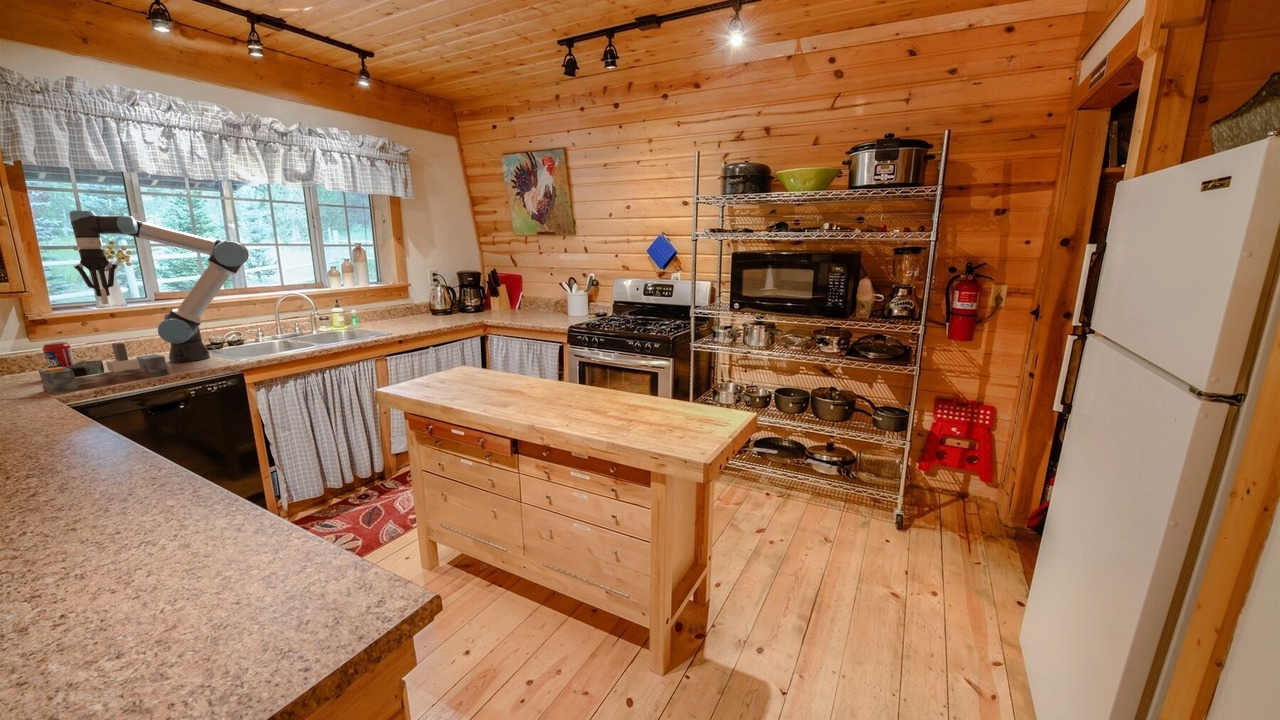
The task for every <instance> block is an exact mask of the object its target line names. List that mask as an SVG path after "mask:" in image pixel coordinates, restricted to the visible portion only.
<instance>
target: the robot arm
mask: <svg viewBox="0 0 1280 720" xmlns="http://www.w3.org/2000/svg"><path fill="white" fill-rule="evenodd" d="M68 214H69V219H70V224H71V227H72V230H73V233H74V237H75V243H76V246H77V248H79V249H78V253H79V256H80V261H79V263H78V264H77V265H73V268H74V269H75V270H76V271H77V272H78V273H79V274H80V276H81V278H82V279H83V282H85V284H86V286H87V287H88V288H89V289H90V288H91V289H93V290H94V291H95V294H96V296H97V297H100V301H101V304H102V305H109V304H110V303H109V298H108V297H109V296H110V295H111V293H110V291H109V288H112V287H114V285H115V284H114V283H115V272H116V271H115V269H117V266H118V265H117V264H115V263H114V264H113V263H111V262H110V261H109V260H108V259H107V257H106V256H107V255H106V251H105V249H104V245H103V241H102V237H101V235H107V234H108V235H112V234H113V235H125V236H129V237H133V238H139V239H143V240H147V241H151V242H155V243H158V244H159V243H160V244H164V245H167V246H171V247H175V248H179V249H183V250H187V251H192V252H196V253H200V254H203V255H208V256H209V257H208V259H207V262H208V266H207V268H206V269H204V271H203V273H202V274H201V275H200V277H199V278H198V279H197V281H196V282H195V284H194V286H193V287H192V288H191V289H190V291H189V292H188V294H186V297H185V298H184V300H183V301H181V303H180V305H179V306H178V307H177V308H173V309H171V310H170V312H169V313H166V314H164V319H163V320H162V321H161V322H160V323H159V324H158V326H157V332H158V336H159V338H161V339H162V340H163V341H165V342H167V343H170V350H169V355H168V360H169V362H170V363H187V362H195V361H196V362H197V361H201V360H205V359H209V358H210V357H211V354H210V352H209V350H208V349H207V347H206V345H205V344H204V342H203V339H202V334H201V330H200V326H201V324H202V320H201V317H202V315H203V314H204V312H206V309H207V308H208V307H209V305H210V304H211V302H212V301H213V300H214V299H215V297H216V296H217V294H218V293H219V292H220V290H221V288H222V287H223V286H224V284H225V283H226V281H228V279H229V277H230V276H231V275H236V274H237V273H238V272H239V270H240V269H241V267H242V265H243V264H245V263H246V262H247V261H248V260H249V255H250V254H249V253H250V252H249V250H248V248H247V247H246V245H243V244H242V243H240V242H237V241H235V240H223V239H219V238H215V239H210V238H208V237H203V236H199V235H196V234H192V233H187V232H184V231H179V230H176V229H173V228H167V227H163V226H159V225H156V224H154V223H153V224H152V223H148V222H144V221H140V220H137V219H135V218H134V217H133V216H131V215H96V214H95V212H94V211H92V210H70V211H69V213H68ZM107 267H108V276H107V277H108V278H107V277H106V273H105V272H106V271H105V269H106V268H107ZM84 268H85V269H86V270H88V271H89V274H90V277H91V279H90V278H89V276H88V275H87V272H85V270H84ZM97 272H98V274H97ZM98 275H99V279H100V282H101V286H100V283H99V279H98ZM91 280H92V281H91ZM101 287H102V288H101Z"/></svg>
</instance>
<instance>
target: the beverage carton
mask: <svg viewBox="0 0 1280 720" xmlns="http://www.w3.org/2000/svg"><path fill="white" fill-rule="evenodd" d="M66 368H69V369H72V370H73V372H74V376H75V377H81V376H87V375H94V374H100V373H105V367H104V364H103V360H102V359H101V360H99V359H98V360H89V361H88V360H82V361H79V362H75V364H73V365H70V366H68V367H66Z"/></svg>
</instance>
